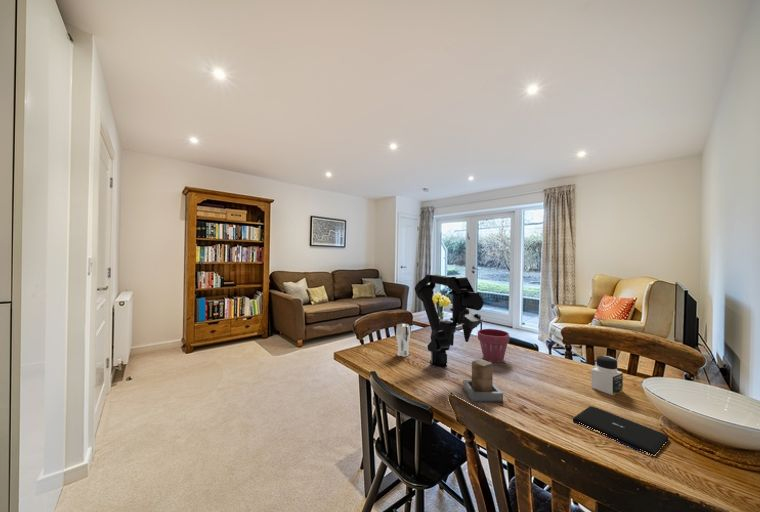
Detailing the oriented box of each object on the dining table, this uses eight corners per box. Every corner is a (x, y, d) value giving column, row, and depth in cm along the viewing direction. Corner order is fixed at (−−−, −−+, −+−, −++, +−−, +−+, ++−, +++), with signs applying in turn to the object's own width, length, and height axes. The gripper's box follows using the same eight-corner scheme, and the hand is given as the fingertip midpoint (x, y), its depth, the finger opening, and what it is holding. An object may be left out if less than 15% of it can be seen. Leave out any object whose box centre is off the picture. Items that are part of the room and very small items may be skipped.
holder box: (472, 402, 96) (472, 393, 96) (462, 388, 106) (463, 380, 106) (503, 402, 96) (503, 393, 96) (490, 387, 106) (490, 379, 106)
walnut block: (471, 392, 102) (471, 361, 102) (480, 388, 105) (480, 358, 105) (483, 397, 98) (483, 366, 98) (492, 394, 100) (492, 363, 100)
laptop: (647, 463, 68) (647, 455, 68) (564, 419, 87) (564, 413, 87) (678, 446, 75) (679, 438, 75) (595, 408, 93) (595, 402, 93)
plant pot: (472, 358, 136) (472, 332, 136) (484, 351, 147) (484, 327, 147) (503, 366, 127) (503, 338, 127) (513, 358, 137) (513, 332, 137)
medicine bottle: (613, 396, 100) (613, 362, 100) (590, 387, 107) (590, 355, 107) (623, 391, 104) (623, 358, 104) (600, 383, 110) (600, 352, 110)
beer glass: (411, 353, 144) (411, 324, 144) (408, 358, 137) (408, 327, 137) (398, 351, 146) (398, 322, 146) (394, 356, 139) (394, 326, 139)
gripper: (459, 312, 106) (459, 353, 106) (490, 307, 116) (490, 344, 116) (437, 307, 115) (437, 345, 115) (468, 303, 126) (468, 338, 126)
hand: (459, 343), depth 118 cm, fingers open, 9 cm apart
